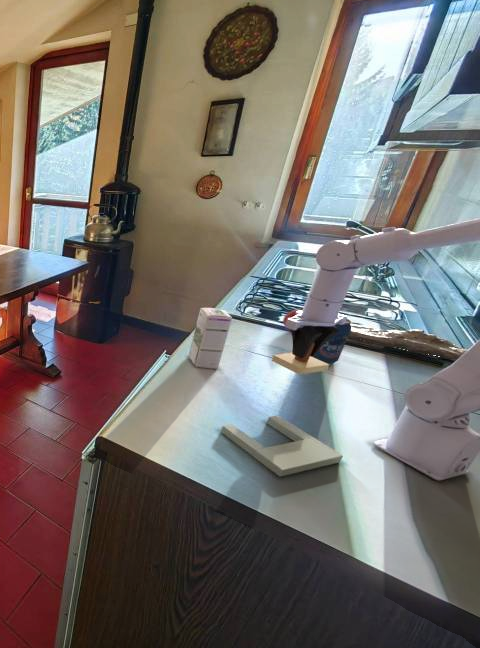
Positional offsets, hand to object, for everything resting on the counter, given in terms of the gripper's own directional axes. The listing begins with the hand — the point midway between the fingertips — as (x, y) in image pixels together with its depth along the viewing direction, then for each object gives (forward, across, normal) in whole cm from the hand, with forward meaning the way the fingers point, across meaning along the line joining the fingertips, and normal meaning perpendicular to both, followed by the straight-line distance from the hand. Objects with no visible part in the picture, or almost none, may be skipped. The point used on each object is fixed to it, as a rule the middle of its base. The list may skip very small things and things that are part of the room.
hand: (302, 355), depth 87 cm
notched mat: (+9, +21, +14) cm, 27 cm away
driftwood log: (+10, -53, -14) cm, 55 cm away
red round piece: (+10, -35, -26) cm, 44 cm away
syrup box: (+10, +9, -16) cm, 21 cm away
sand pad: (+3, 0, 0) cm, 3 cm away
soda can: (+10, -24, -10) cm, 27 cm away
